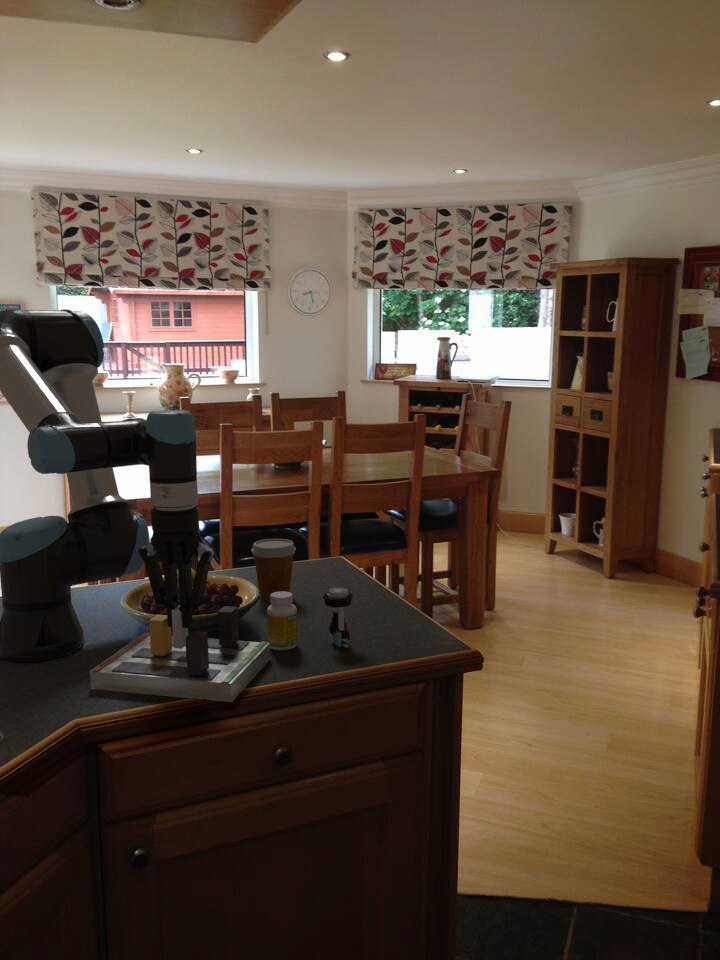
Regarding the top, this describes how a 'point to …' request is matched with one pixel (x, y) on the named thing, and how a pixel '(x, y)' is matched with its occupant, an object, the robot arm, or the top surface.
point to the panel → (186, 665)
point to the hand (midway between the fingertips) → (181, 645)
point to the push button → (338, 615)
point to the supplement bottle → (282, 621)
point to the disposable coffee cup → (273, 565)
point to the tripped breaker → (160, 635)
